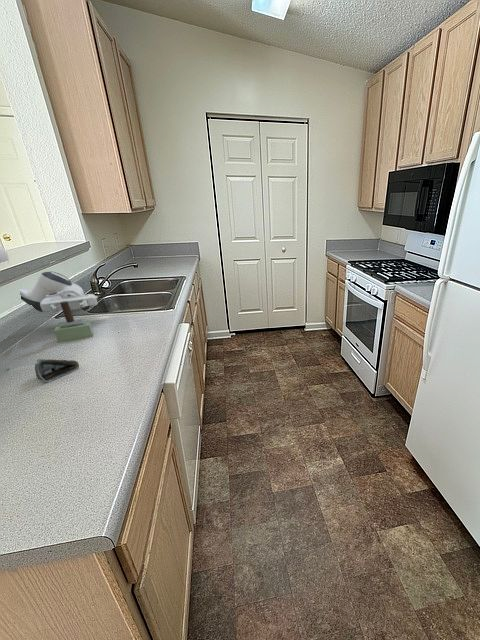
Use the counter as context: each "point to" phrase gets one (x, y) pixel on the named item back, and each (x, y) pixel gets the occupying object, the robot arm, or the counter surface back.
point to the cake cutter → (69, 316)
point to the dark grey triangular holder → (54, 368)
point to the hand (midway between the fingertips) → (68, 307)
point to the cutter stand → (73, 332)
